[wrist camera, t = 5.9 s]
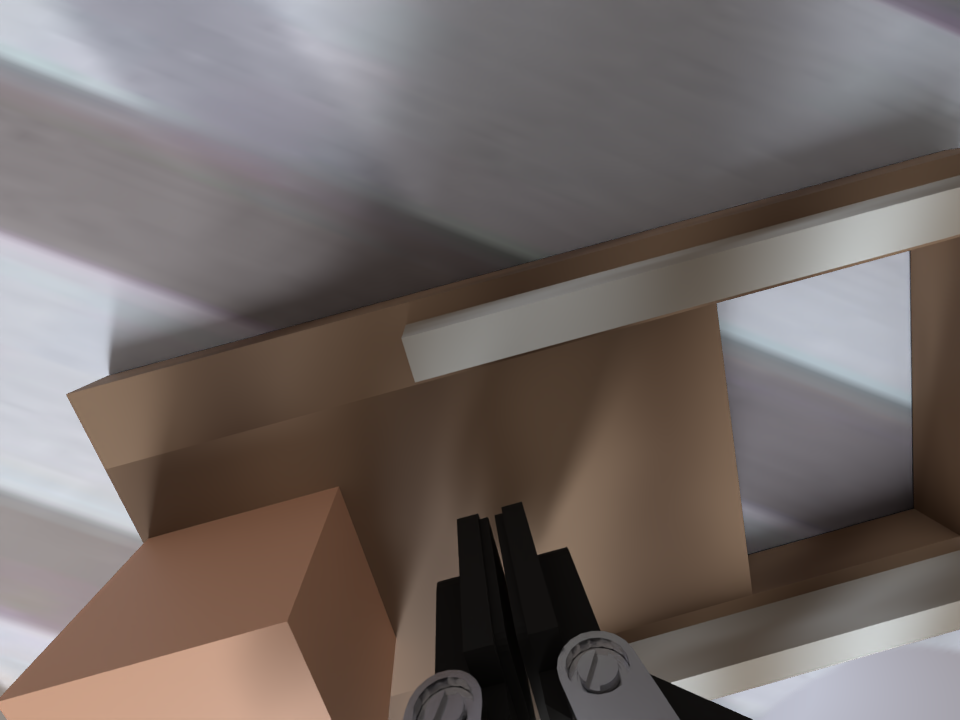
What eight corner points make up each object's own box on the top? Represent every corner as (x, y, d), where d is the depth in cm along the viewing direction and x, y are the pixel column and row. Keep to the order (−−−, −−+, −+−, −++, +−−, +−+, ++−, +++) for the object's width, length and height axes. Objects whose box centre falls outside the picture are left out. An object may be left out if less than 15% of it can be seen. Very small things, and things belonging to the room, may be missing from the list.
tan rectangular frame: (944, 150, 13) (1086, 128, 10) (942, 550, 17) (1048, 618, 14) (107, 376, 13) (12, 418, 10) (284, 736, 16) (252, 844, 13)
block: (338, 486, 13) (287, 621, 8) (396, 638, 14) (378, 822, 10) (148, 538, 13) (-5, 702, 8) (224, 686, 14) (128, 894, 10)
